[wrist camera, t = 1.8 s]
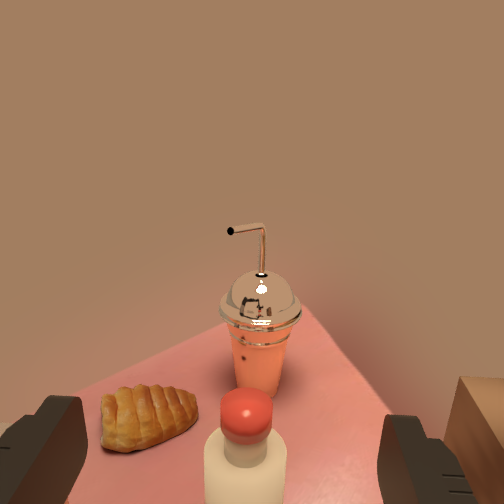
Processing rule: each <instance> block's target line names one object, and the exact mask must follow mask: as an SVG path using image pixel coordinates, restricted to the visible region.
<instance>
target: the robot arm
mask: <svg viewBox="0 0 504 504" xmlns="http://www.w3.org/2000/svg"><path fill="white" fill-rule="evenodd" d="M87 449H88V439H87V432H86V426H85V419H84V413H83V406H82V401H81V399H80V398H79V397H74V396H55V395H50V396H48V397H47V398H46V399H45V400H44V402H43V403H42V405H41V406H40V407H39V409H38V410H37V412H36V413H35V414H34V415H24V416H23V417H22V418H20V419H19V420H18V421H17V422H15V423H14V424H13V425H11V426H10V427H9V428H7V429H6V430H5V432H4V433H3V434H2V436H1V437H0V504H64V503H65V501H66V499H67V497H68V495H69V493H70V491H71V489H72V487H73V485H74V483H75V481H76V479H77V477H78V475H79V473H80V471H81V469H82V467H83V465H84V462H85V459H86V455H87ZM377 474H378V482H379V487H380V491H381V495H382V499H383V503H384V504H478V502H477V500H476V497H475V496H473V491H472V489H471V487H470V485H469V483H468V480H467V479H465V474H464V472H463V470H462V468H461V466H460V463H459V461H458V459H457V457H456V456H455V454H454V453H453V452H452V451H451V450H450V449H449V448H448V447H447V446H446V445H445V444H444V443H443V442H442V441H441V440H440V439H432V438H427V437H426V435H425V432H424V430H423V428H422V425H421V423H420V420H419V419H418V417H417V416H407V415H389V414H387V415H386V416H385V419H384V424H383V430H382V436H381V441H380V447H379V453H378V459H377Z"/></svg>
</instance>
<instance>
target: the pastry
mask: <svg viewBox="0 0 504 504" xmlns="http://www.w3.org/2000/svg"><path fill="white" fill-rule="evenodd" d="M101 413H102V417H103V418H102V427H103V435H102V437H101V439H100V440H101V445H102V446H103V447H104V448H107V449H111V450H115V451H118V452H125V453H129V452H130V451H133V450H138V449H140V450H143V449H146V448H148V447H152V446H154V445H156V444H158V443H162V442H164V441H166V440H168V439H170V438H172V437H175V436H177V435H179V434H181V433H183V432H184V431H186V430H187V429H188V428H189V427H190V426H191V425H193V424H194V423H195V421H196V420H197V417H198V407H197V403H196V397H195V395H194V394H191V393H189V392H187V391H185V390H181V389H175V388H174V387H172V386H170V387H165V388H163V387H161V386H159V385H154V386H151V387H148V386H144V385H141V384H139V385H137V386H136V387H135V388H134V389H131V388H128V387H120V388H119V389H118V390H117V392H116V393H115V394H113V395H111V394H104V395H103V396H102V401H101Z"/></svg>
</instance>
